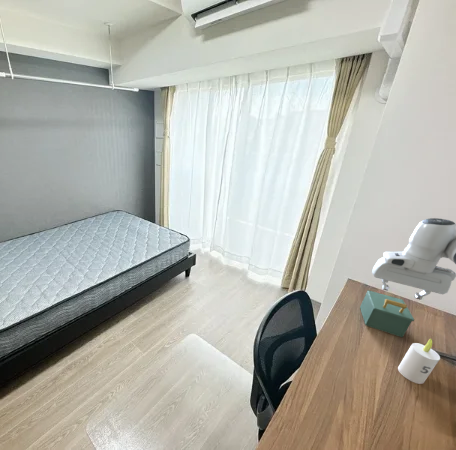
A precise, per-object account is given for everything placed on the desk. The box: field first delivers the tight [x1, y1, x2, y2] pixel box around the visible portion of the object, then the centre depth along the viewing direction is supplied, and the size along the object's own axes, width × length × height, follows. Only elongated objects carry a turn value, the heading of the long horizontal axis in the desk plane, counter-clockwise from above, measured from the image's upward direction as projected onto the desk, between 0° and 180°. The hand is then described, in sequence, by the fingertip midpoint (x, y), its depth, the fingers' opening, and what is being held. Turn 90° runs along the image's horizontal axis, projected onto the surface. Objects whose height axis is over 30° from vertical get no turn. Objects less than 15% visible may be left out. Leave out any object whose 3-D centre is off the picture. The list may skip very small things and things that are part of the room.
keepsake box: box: [359, 292, 413, 338], centre depth 100 cm, size 13×12×9 cm
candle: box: [397, 338, 441, 385], centre depth 77 cm, size 6×6×15 cm
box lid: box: [366, 289, 415, 322], centre depth 98 cm, size 14×12×5 cm
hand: (400, 293), depth 91 cm, fingers open, 8 cm apart
